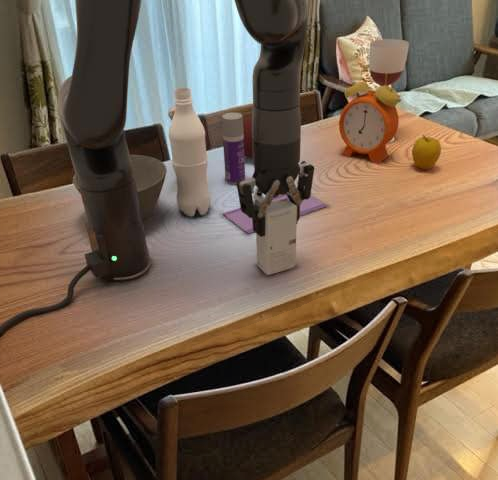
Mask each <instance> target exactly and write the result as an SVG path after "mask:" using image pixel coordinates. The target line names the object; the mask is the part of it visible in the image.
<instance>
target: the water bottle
mask: <svg viewBox="0 0 498 480" xmlns="http://www.w3.org/2000/svg"><path fill="white" fill-rule="evenodd" d="M173 90H174V91H173V92H174V101H173V105H174V106H176V110H175V114H174V116H173V119H172V120H171V122H170V124H169V125H170V126H169V129H168V138H170V139H169V145H170V152H171V163H172V164H171V165H172V168H173V170H174V174H175V176H176V183H177V190H176V202H177V203H176V204H177V206H178V208H179V210H180V211H181V212H182V213H183V214H184V215H186V216H187V217H194V216H195V214H196V211H197V212H198V214H199V215H200V216H204V215H205V214H207V212H208V211H209V208H210V204H211V201H212V195H211V192H210V188H209V187H208V186H209V185H208V176H207V171H208V164H209V161H208V154H207V143H206V131H205V127H204V125H203V123H202V121H201V118H200V117H199V118H200V119H199V118H198V116H199V115H198V114H197V113H196V111H195V109H194V107H193V103H194V100H193V97H192V94H191V91H192V90H191V88H190V87H184V86H183V87H177V88H175V89H173ZM196 114H197V115H198V116H197V115H196ZM206 154H207V155H206Z"/></svg>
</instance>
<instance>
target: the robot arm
mask: <svg viewBox="0 0 498 480" xmlns="http://www.w3.org/2000/svg"><path fill="white" fill-rule="evenodd" d="M74 2H75V5H74V6H75V18H76V47H75V56H74V60H73V61H74V62H73V65H72V66H73V67H72V71H71V72H72V73H71V75H69V76H68V77H67V78H66V79H65V80H64V82H62V84H61V86H60V88H59V90H58V95H57V107H58V113H59V116H60V120H61V124H62V128H63V133H64V137H65V140H66V143H67V148H68V151H69V156H70V160H71V163H72V167H73V171H74V175H76V178H77V182H78V185H79V189H80V193H81V194H80V193H79V194H80V198H81V201H82V205H83V210H84V212H85V213H84V214H85V218H86V221H85V222H84V226H85V230H86V235H87V238H88V242H89V246H90V250H91V251H90V252H87V253H84V255H83V256H84V259H85V262H86V266H84V267H83V268H82V269H80V271H79V272H78V273H76V274H75V276H74V277H72V279H71V281H70V282H69V284H68V287H67V294H66V297H65V298H64V299H63V300H62V301H60V302H58V303H56V304H53V305H50V306H45V307H38V308H33V309H29V310H25V311H22V312H20V313H18V314H16V315H14V316H12V317H10V318H9V319H8V320H6V321H5V322H4V323H2V324H1V325H0V335H1V334H2V333H4V332H5V331H6V330H7V329H8V328H10V327H11V326H13V325H14V324H16V323H18V322H19V321H21V320H23V319H25V318H28V317H31V316H34V315H35V316H36V315H40V314H46V313H51V312H55V311H57V310H61V309H63V308H64V307H65V306H67V305H68V304H69V303H70V302H72V300H73V298H74V293H75V287H76V285H77V284H78V282H79V281H80V280H81V279H82V278H83V277H84V276H85V275H86V274H87V273H89V272H91V274H92V275H93V276H94V278H95V279H98V278H101V277H102V278H103V279H104V280H105V282H106V283H111V282H126V281H131V280H135V279H138V278H140V277H141V276H143V275H145V274H147V272H148V271H149V270H150V268H151V265H152V264H151V263H152V262H151V259H150V253H149V249H148V244H147V238H146V232H145V226H144V222H143V218H142V215H141V209H140V204H139V198H138V192H137V187H136V181H135V175H134V170H133V164H132V160H131V157H130V155H131V154H130V151H129V147H128V143H127V139H126V133H125V127H126V123H127V115H128V96H129V95H128V93H129V92H128V91H129V76H130V66H131V65H130V64H131V56H132V50H133V44H134V41H135V36H136V31H137V27H138V23H139V18H140V13H141V6H142V2H143V0H74ZM234 5H235V7H236V10H237V14H238V16H239V19H240V21H241V23H242V25H243V28H245V31H246V33H248V35H249V36H250V37H251V38H252V39H253V40H254V41H255V42H256V43H258V44H259V45H260V50H259V51H260V54H259V57H258V59H257V61H256V63H255V65H254V66H253V70H252V77H251V78H252V82H251V83H252V112H251V116H252V146H253V158H252V163H253V168H254V170H253V173H252V176H251V178H248V179H245V181H243V180H238V181H237V184H236V189H237V195H238V200H239V208H241V211H242V212H243V213H244V214H246V215H247V216H248V217H249V218H252V223H253V231H254V232H253V233H255V235H256V234H258V235H259V236H260V237H262V236H265V217H264V214H265V211H266V209H267V207H268V206H270V204H271V202H272V199H273V198H275V197H277V196H279V195H284V194H286V196H287V198H288V200H289V201H290V202H292V203H293V204H295V205H296V206H297V225H298V223H299V220H300V217H301V216H300V205H301V203H302V201H303V200H304V199H306V200H307V199H309V198H310V196H312V188H313V181H314V175H315V174H314V173H315V166H314V165H313V164H311V163H310V162H307V161H306V160H302V161H301V142H302V141H301V140H302V138H301V135H302V113H301V68H302V63H303V58H304V53H305V46H306V40H307V35H308V27H309V3H308V0H234ZM300 161H301V162H300ZM296 180H297V185H296V183H295V181H296ZM255 187H256V188H255ZM254 190H255V191H254ZM263 195H264V196H263ZM259 206H260V207H259ZM258 208H259V209H258Z"/></svg>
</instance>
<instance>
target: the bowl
mask: <svg viewBox="0 0 498 480" xmlns="http://www.w3.org/2000/svg"><path fill="white" fill-rule="evenodd" d="M130 157H131V160H132V164H133V170H134V175H135V181H136V187H137V192H138V198H139V204H140V209H141V215H142V219H144V218H145V217H146V216H147V215H149V213H150V212H151V211H152V210H153V209H154V207H155V206H156V204H157V202H158V201H159V198H160V195H161V192H162V190H163V187H164V183H165V180H166V176H167V171H168V170H167V166H166V164H165V163H164V162H163V161H161V160H160V159H157V158H155V157H152V156H148V155H142V154H130ZM72 184H73V186H74V187H75V189H76V191H77V192H78V193H79V194H80V195H81V193H80V189H79V185H78V182H77V178H76V175H75V174H74V175H73V176H72Z"/></svg>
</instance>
